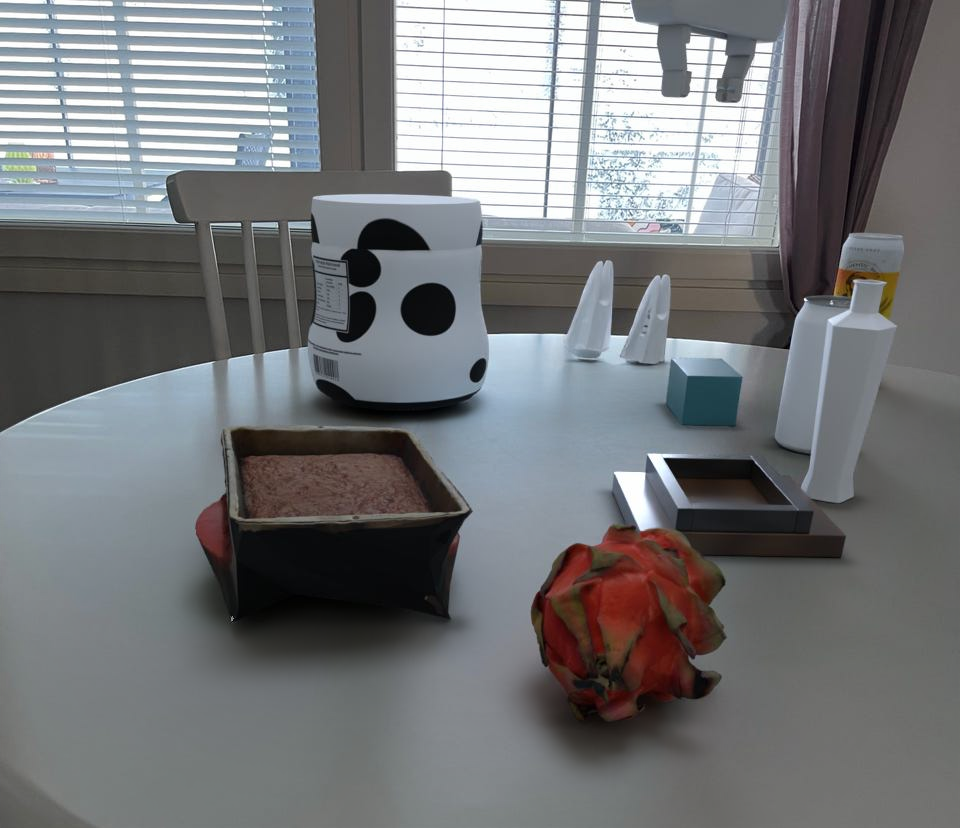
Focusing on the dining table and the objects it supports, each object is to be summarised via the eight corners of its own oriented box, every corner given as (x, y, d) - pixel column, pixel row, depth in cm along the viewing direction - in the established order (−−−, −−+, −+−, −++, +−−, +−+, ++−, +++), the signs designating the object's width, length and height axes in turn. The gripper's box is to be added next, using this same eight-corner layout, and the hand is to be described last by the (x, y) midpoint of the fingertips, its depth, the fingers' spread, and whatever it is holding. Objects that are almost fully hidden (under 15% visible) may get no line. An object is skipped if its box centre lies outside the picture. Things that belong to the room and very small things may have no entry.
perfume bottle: (864, 507, 68) (914, 287, 61) (801, 502, 68) (844, 284, 61) (853, 486, 72) (899, 279, 65) (794, 482, 72) (833, 276, 65)
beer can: (810, 381, 104) (838, 234, 97) (827, 372, 108) (854, 231, 101) (866, 389, 101) (899, 239, 94) (881, 380, 105) (913, 235, 98)
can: (769, 450, 80) (795, 302, 74) (777, 431, 85) (802, 292, 79) (849, 460, 78) (882, 309, 72) (852, 440, 83) (883, 298, 77)
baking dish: (444, 555, 63) (429, 404, 60) (493, 643, 46) (476, 440, 43) (226, 582, 61) (198, 427, 58) (196, 683, 45) (154, 474, 41)
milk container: (500, 385, 98) (506, 197, 90) (470, 429, 83) (473, 207, 75) (342, 376, 101) (333, 191, 92) (285, 416, 86) (268, 200, 77)
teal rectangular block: (715, 404, 94) (721, 358, 92) (735, 425, 87) (742, 376, 84) (665, 403, 94) (671, 357, 91) (681, 424, 86) (687, 375, 84)
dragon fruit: (658, 659, 50) (602, 815, 41) (537, 558, 49) (453, 696, 40) (775, 564, 45) (740, 721, 36) (640, 449, 44) (570, 580, 35)
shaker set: (562, 362, 110) (568, 261, 105) (564, 355, 114) (570, 257, 108) (665, 367, 109) (677, 265, 103) (664, 360, 112) (675, 261, 107)
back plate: (785, 494, 70) (792, 455, 68) (841, 557, 59) (851, 512, 58) (612, 491, 70) (615, 451, 68) (637, 554, 59) (642, 509, 58)
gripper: (701, -150, 61) (675, 93, 68) (818, -92, 76) (787, 105, 82) (619, -137, 65) (602, 94, 71) (745, -83, 79) (721, 105, 86)
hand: (702, 100), depth 77 cm, fingers open, 8 cm apart
